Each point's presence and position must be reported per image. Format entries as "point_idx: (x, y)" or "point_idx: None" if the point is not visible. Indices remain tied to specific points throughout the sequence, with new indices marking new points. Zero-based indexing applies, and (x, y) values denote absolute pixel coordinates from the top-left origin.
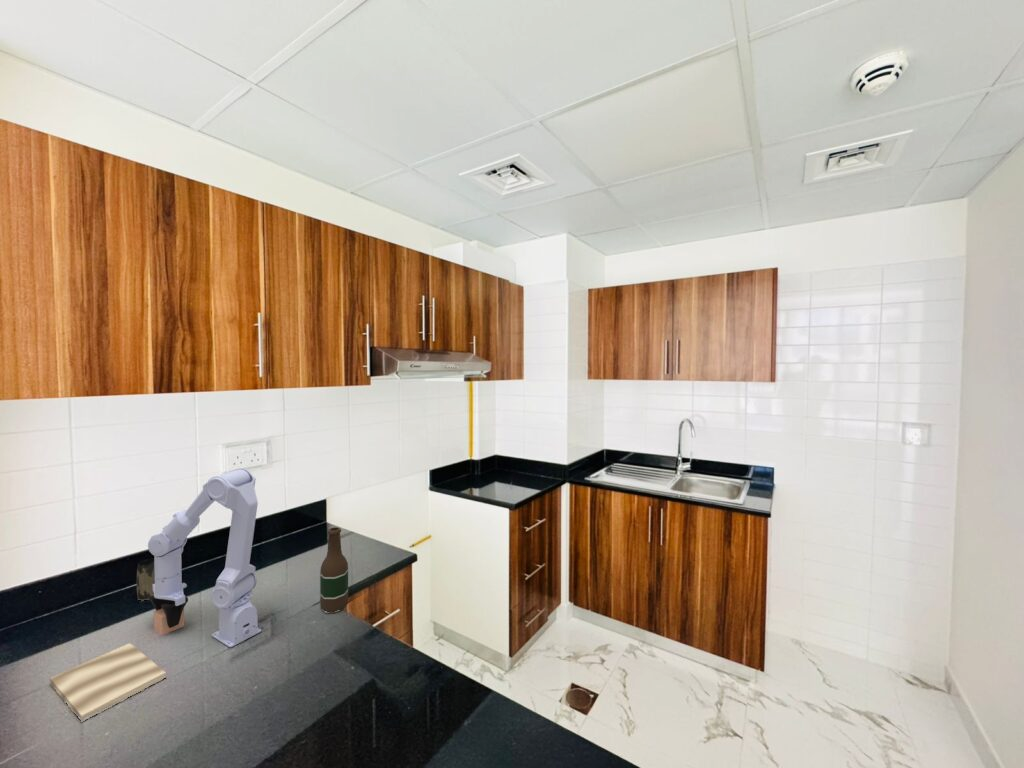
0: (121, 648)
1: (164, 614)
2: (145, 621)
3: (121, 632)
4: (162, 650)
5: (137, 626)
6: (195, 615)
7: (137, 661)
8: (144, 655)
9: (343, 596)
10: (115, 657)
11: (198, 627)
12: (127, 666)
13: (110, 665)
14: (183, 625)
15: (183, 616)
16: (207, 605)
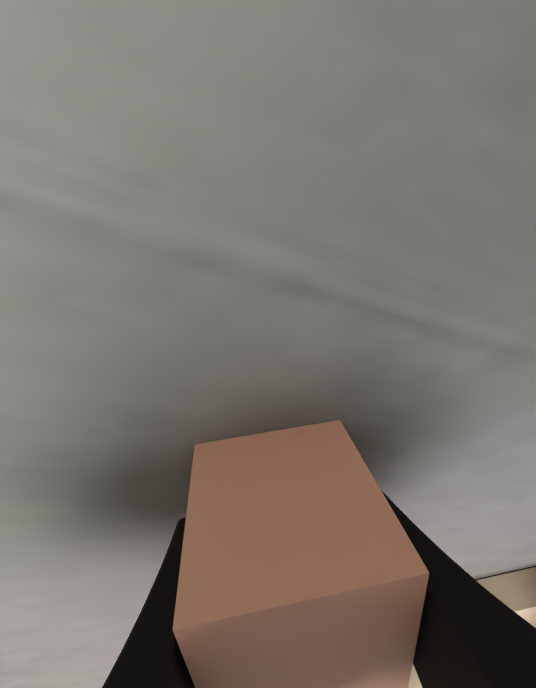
0: None
1: (373, 684)
2: (42, 570)
3: (103, 643)
4: (487, 527)
5: (87, 598)
6: (243, 322)
7: (534, 625)
8: (520, 610)
9: None
10: (414, 676)
11: (459, 359)
12: None
13: None
14: (341, 426)
15: (377, 485)
16: (98, 157)
